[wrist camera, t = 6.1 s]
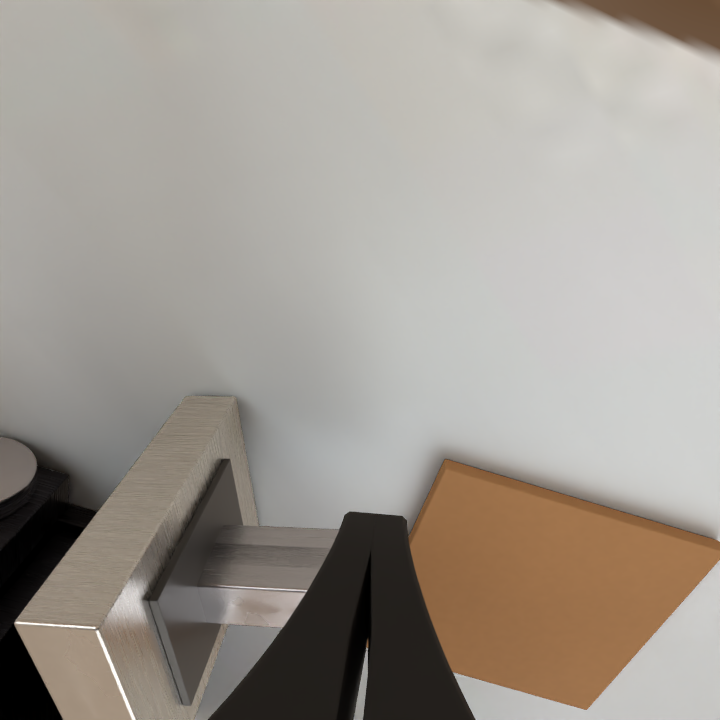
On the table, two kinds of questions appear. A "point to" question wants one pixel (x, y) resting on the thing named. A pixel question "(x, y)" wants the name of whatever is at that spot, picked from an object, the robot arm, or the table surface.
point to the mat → (546, 582)
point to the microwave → (29, 567)
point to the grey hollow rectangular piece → (166, 576)
